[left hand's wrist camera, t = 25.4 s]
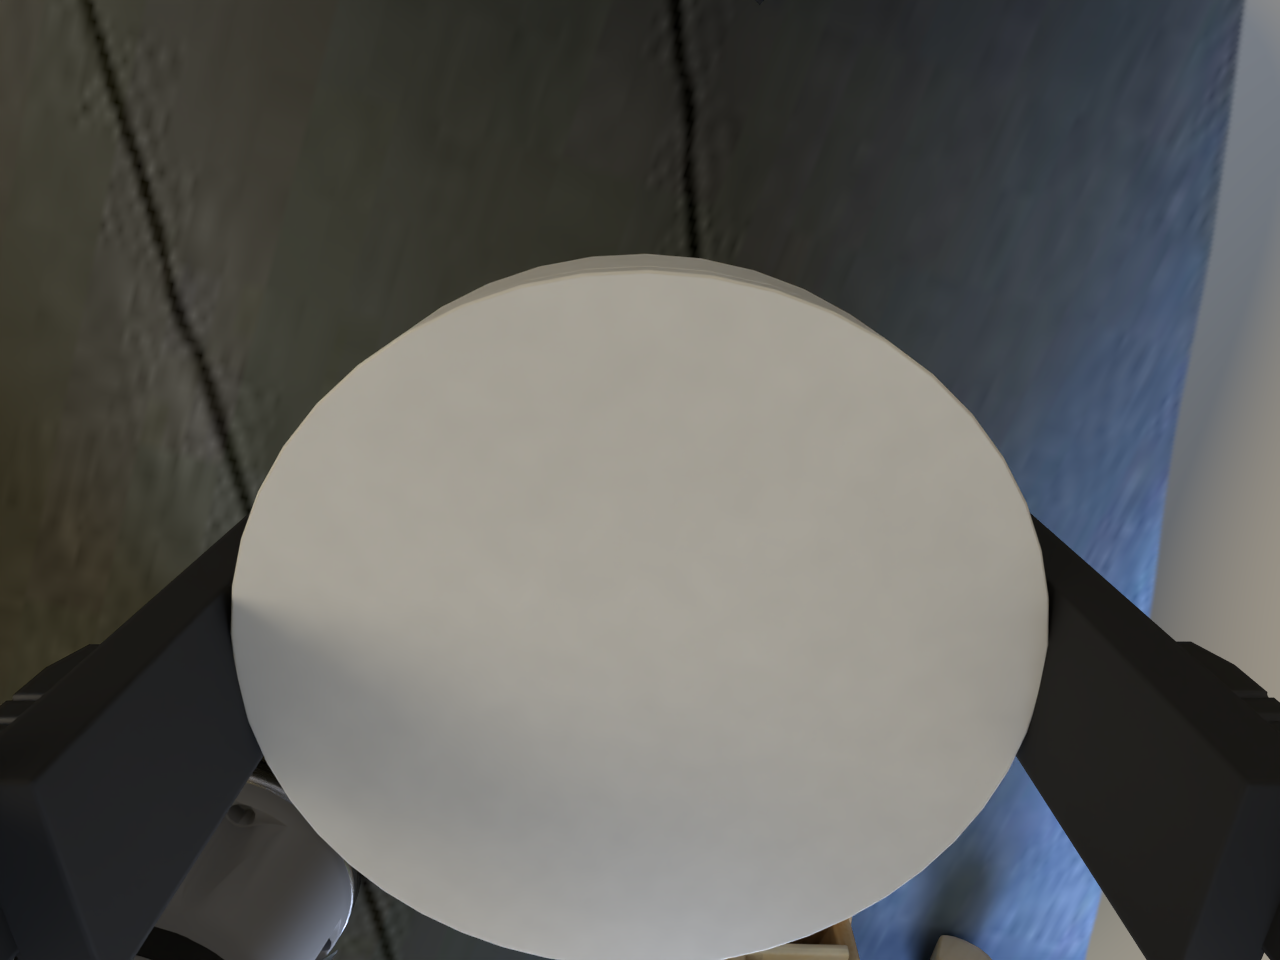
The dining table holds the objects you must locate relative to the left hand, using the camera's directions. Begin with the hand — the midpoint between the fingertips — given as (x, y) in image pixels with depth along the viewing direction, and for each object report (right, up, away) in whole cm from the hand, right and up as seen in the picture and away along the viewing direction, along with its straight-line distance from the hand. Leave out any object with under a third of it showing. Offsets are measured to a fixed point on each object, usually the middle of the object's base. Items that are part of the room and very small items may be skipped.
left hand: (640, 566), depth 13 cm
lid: (0, -1, -3) cm, 3 cm away
